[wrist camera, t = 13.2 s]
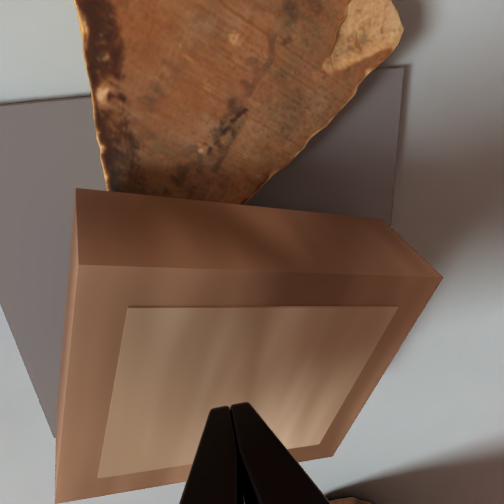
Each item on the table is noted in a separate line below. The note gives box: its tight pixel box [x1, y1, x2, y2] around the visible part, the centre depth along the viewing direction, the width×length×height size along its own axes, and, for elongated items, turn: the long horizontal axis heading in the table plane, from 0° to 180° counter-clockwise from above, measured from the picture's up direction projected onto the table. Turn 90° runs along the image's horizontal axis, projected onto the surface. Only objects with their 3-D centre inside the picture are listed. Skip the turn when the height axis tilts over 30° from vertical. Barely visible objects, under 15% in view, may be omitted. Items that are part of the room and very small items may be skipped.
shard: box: [73, 0, 404, 205], centre depth 11 cm, size 11×8×2 cm
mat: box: [0, 67, 404, 438], centre depth 15 cm, size 13×12×1 cm
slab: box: [55, 188, 443, 504], centre depth 13 cm, size 3×8×9 cm
